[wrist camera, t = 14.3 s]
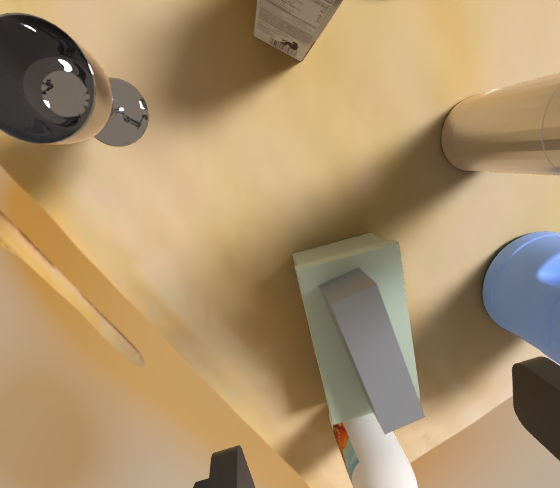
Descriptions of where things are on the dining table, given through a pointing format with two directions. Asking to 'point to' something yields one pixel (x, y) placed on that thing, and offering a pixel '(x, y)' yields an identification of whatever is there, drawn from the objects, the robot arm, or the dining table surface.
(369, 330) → the grey rectangular brick
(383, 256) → the sage shelf
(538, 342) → the water jug
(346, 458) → the milk bottle
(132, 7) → the dining table surface
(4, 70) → the wine glass
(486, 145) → the robot arm
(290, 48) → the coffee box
